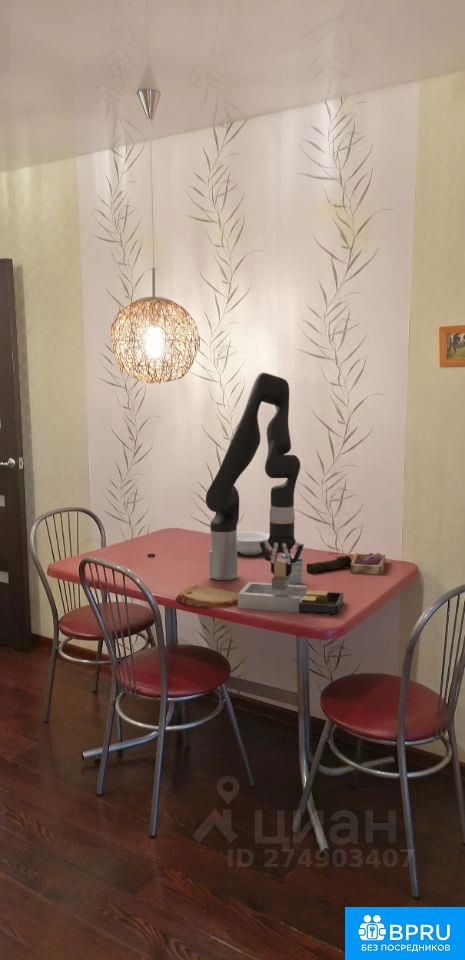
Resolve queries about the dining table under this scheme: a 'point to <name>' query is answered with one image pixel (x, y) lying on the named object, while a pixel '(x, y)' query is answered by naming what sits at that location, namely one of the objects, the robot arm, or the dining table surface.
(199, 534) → the dining table surface
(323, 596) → the tan square block
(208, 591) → the slice of bread
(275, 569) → the beige and grey block
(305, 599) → the tan wood block
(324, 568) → the hand tool
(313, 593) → the khaki small block
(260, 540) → the cereal bowl
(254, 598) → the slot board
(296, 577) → the medicine box
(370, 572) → the light wood shallow tray
